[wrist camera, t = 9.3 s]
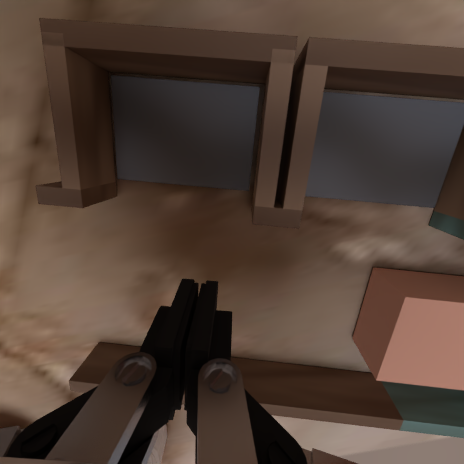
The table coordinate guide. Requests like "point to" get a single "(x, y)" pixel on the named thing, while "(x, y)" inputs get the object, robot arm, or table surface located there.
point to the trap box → (265, 161)
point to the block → (413, 328)
